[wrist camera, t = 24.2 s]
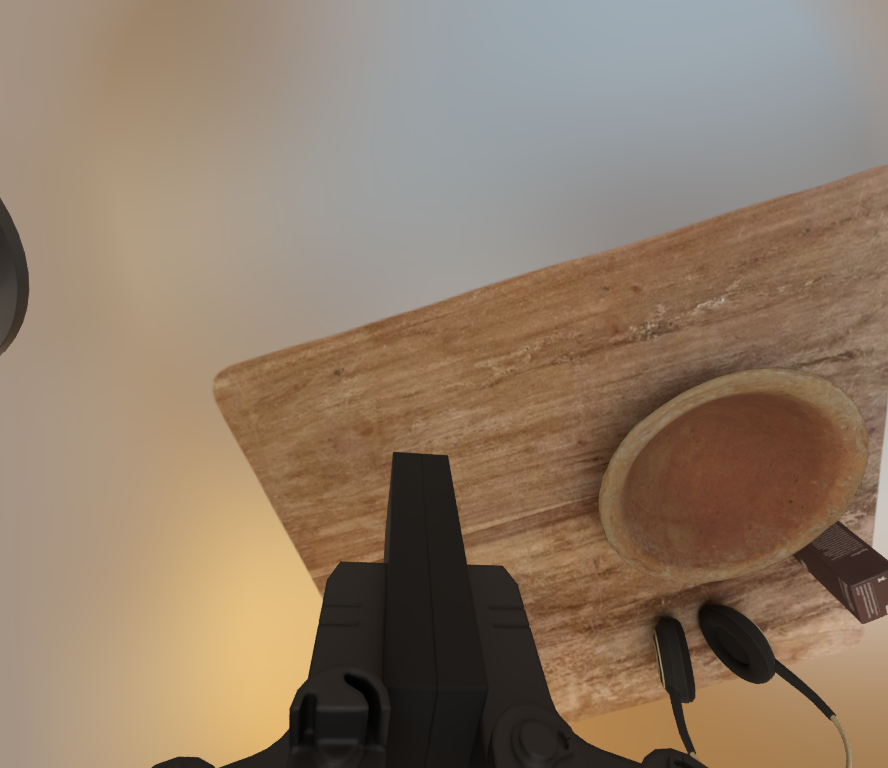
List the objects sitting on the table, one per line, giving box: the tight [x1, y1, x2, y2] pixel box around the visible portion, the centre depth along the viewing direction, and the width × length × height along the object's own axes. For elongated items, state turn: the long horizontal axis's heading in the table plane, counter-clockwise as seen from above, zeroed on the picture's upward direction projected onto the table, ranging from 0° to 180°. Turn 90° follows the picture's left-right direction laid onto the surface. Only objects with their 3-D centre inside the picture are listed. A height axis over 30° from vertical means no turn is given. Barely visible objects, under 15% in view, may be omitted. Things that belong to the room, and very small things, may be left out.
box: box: [793, 521, 888, 624], centre depth 48 cm, size 6×4×12 cm
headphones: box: [653, 604, 852, 768], centre depth 49 cm, size 9×15×20 cm, turn 105°
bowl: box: [598, 368, 869, 584], centre depth 45 cm, size 24×24×8 cm
